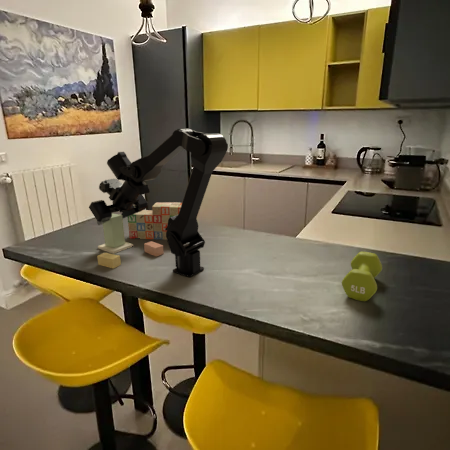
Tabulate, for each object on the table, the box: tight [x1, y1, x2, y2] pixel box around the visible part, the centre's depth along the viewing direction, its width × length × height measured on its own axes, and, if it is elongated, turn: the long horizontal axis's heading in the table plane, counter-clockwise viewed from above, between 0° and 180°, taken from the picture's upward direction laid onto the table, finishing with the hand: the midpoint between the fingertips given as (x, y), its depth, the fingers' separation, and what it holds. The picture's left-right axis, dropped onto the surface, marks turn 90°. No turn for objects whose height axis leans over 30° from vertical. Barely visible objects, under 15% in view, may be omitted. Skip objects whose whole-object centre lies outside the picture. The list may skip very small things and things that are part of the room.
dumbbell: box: [341, 251, 383, 302], centre depth 85 cm, size 16×8×7 cm, turn 150°
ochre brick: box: [96, 252, 122, 270], centre depth 99 cm, size 6×3×3 cm, turn 63°
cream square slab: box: [97, 241, 134, 255], centre depth 113 cm, size 8×8×2 cm
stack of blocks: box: [127, 201, 182, 240], centre depth 121 cm, size 21×6×12 cm, turn 86°
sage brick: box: [102, 213, 126, 248], centre depth 111 cm, size 4×4×10 cm
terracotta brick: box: [143, 240, 165, 257], centre depth 108 cm, size 6×3×3 cm, turn 48°
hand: (110, 220), depth 111 cm, fingers open, 9 cm apart
